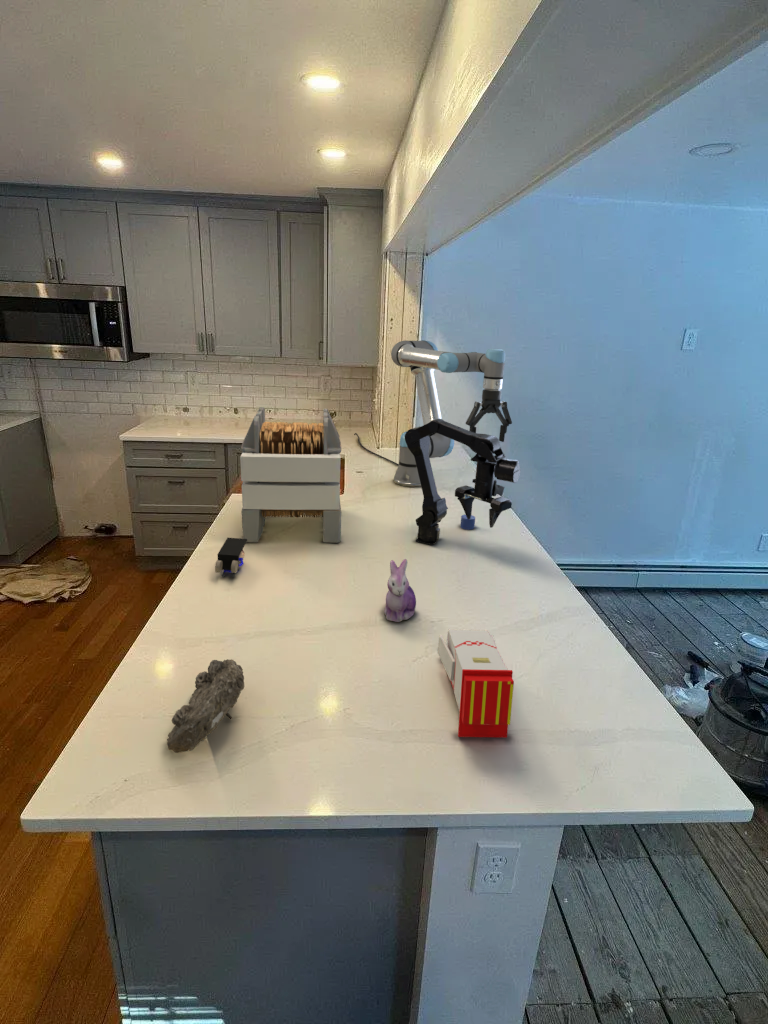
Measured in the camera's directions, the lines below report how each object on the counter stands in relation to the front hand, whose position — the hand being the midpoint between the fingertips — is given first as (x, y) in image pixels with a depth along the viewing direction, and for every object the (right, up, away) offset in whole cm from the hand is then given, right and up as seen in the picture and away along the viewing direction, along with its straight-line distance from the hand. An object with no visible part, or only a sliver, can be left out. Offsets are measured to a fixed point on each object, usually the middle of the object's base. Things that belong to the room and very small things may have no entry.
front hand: (479, 523), depth 182 cm
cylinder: (0, -2, +27) cm, 27 cm away
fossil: (-64, -36, -74) cm, 104 cm away
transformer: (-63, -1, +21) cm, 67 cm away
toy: (-13, -34, -64) cm, 73 cm away
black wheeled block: (-76, -14, -15) cm, 78 cm away
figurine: (-27, -23, -35) cm, 50 cm away
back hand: (+12, +32, +51) cm, 61 cm away
